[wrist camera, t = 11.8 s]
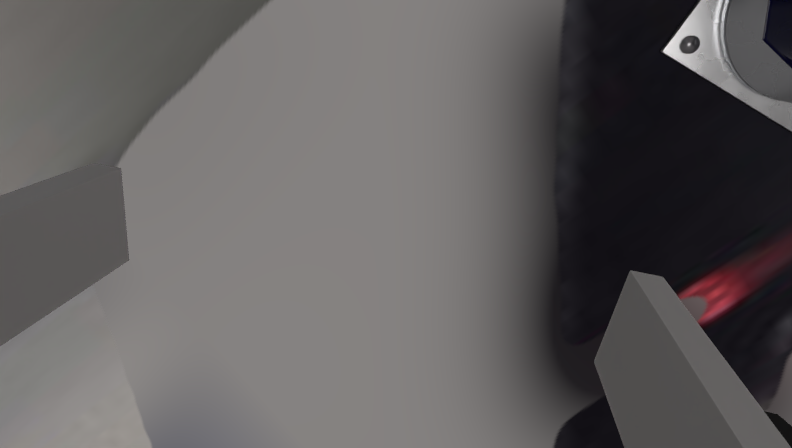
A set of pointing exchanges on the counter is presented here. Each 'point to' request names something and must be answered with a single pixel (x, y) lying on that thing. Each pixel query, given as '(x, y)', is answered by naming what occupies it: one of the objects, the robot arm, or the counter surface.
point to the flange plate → (735, 55)
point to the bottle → (779, 29)
